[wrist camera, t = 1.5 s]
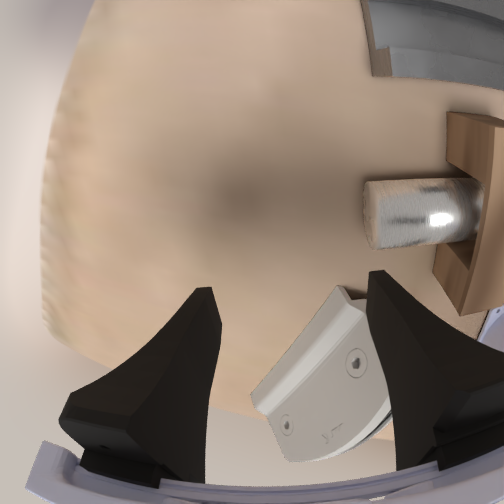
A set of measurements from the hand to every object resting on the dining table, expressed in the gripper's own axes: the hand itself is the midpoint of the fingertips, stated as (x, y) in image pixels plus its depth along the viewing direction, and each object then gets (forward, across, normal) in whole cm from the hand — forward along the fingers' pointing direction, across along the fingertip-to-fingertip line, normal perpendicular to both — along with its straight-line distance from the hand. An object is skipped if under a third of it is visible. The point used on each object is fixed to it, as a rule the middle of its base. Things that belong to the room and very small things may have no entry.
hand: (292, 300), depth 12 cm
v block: (+8, -12, -11) cm, 18 cm away
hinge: (+9, -2, +15) cm, 17 cm away
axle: (+9, -10, 0) cm, 13 cm away
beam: (+8, -13, 0) cm, 15 cm away
